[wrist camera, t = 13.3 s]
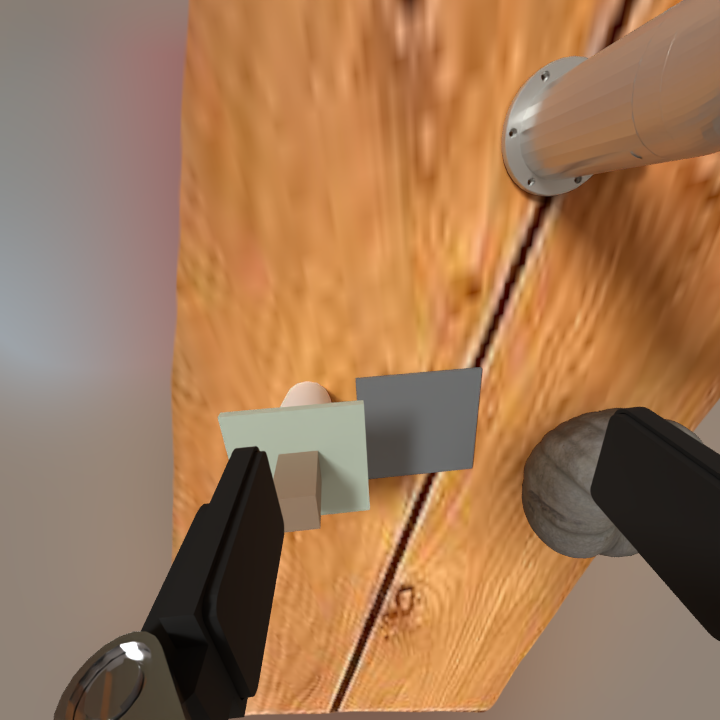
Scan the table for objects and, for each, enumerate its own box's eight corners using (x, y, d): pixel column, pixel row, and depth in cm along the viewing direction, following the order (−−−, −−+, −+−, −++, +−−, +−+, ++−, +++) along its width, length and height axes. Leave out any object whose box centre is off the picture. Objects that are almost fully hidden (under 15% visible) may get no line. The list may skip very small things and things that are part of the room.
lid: (363, 399, 33) (370, 442, 27) (369, 504, 39) (376, 559, 32) (220, 412, 32) (194, 459, 26) (247, 517, 38) (231, 576, 32)
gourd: (517, 395, 47) (634, 495, 32) (655, 368, 52) (810, 444, 37) (488, 510, 59) (563, 621, 44) (602, 479, 64) (703, 569, 50)
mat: (480, 367, 48) (482, 368, 47) (470, 466, 55) (472, 468, 54) (355, 378, 47) (355, 379, 46) (362, 477, 54) (362, 479, 53)
